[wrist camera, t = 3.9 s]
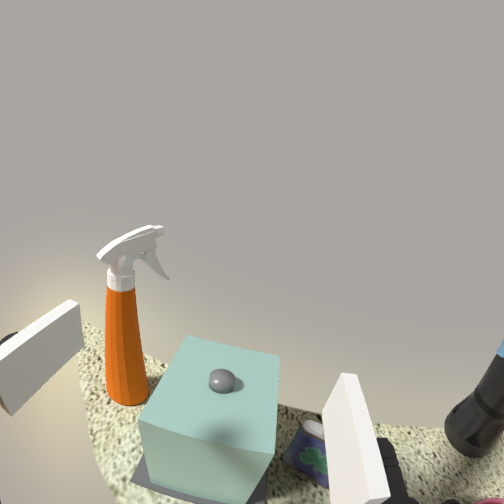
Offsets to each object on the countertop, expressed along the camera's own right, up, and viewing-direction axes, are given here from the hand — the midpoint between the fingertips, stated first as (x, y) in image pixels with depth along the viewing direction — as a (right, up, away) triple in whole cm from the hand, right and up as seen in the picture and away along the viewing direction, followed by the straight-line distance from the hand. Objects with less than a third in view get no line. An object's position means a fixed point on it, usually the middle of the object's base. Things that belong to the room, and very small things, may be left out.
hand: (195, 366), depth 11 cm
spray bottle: (-16, -17, +26) cm, 35 cm away
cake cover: (-3, -21, +16) cm, 27 cm away
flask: (+10, -25, +16) cm, 31 cm away
